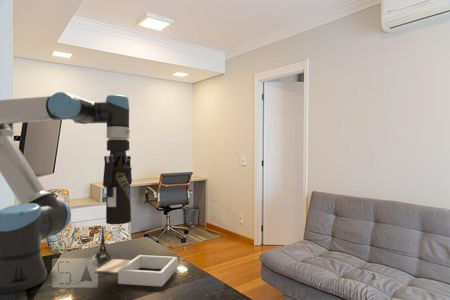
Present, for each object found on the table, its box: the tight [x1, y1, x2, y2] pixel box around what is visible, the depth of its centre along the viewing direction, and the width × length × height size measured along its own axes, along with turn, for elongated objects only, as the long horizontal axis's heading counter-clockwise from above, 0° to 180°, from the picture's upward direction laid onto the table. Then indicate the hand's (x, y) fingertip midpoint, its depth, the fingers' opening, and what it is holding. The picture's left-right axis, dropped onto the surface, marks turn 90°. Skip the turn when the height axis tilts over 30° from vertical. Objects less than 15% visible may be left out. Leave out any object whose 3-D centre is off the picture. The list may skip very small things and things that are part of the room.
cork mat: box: [94, 258, 133, 275], centre depth 103 cm, size 11×11×1 cm
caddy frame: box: [117, 254, 178, 287], centre depth 95 cm, size 14×14×4 cm
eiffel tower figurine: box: [83, 226, 113, 266], centre depth 113 cm, size 15×10×13 cm
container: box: [105, 165, 133, 225], centre depth 104 cm, size 9×9×20 cm
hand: (118, 204), depth 104 cm, fingers closed on container, 8 cm apart
